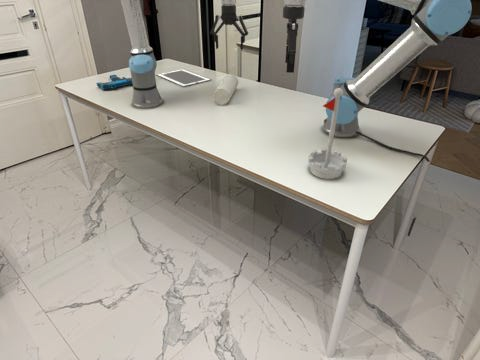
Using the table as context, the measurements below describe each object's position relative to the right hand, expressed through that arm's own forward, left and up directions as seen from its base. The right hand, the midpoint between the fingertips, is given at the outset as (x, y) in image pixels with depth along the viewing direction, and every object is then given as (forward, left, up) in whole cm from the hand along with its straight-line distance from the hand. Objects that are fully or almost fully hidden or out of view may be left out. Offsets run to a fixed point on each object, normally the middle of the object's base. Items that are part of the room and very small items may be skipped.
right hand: (289, 67), depth 131 cm
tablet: (+100, +14, -29) cm, 105 cm away
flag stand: (-32, +2, -29) cm, 43 cm away
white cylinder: (+56, +3, -29) cm, 63 cm away
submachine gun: (+107, +49, -29) cm, 121 cm away
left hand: (+64, -3, -6) cm, 64 cm away
